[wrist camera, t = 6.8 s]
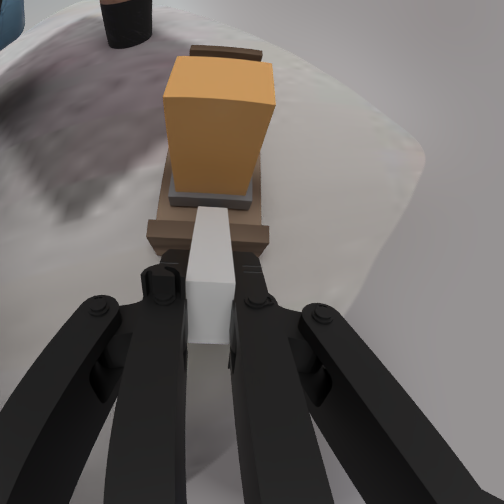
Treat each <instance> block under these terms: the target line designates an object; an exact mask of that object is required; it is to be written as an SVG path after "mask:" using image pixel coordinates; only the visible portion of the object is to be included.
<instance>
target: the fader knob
mask: <svg viewBox="0 0 504 504" xmlns="http://www.w3.org/2000/svg"><path fill="white" fill-rule="evenodd" d="M163 104H164V113H165V121H166V130H167V137H168V145H169V152H170V159H171V166H172V174H171V181H170V187H169V194H168V198H169V202H170V206H191V207H198V206H201V207H219V208H227V209H243V210H249V209H250V206H251V203H252V174H253V171H254V168H255V165H256V162H257V159H258V156H259V153H260V150H261V147H262V144H263V141H264V138H265V135H266V132H267V129H268V126H269V123H270V120H271V117H272V114H273V111H274V109H275V106H276V103H275V91H274V80H273V69H272V64H271V63H265V62H258V61H250V60H242V59H232V58H219V57H199V56H177V59H176V62H175V64H174V67H173V69H172V72H171V75H170V78H169V80H168V83H167V86H166V89H165V92H164V95H163Z"/></svg>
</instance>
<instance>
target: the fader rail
mask: <svg viewBox="0 0 504 504" xmlns="http://www.w3.org/2000/svg"><path fill="white" fill-rule="evenodd" d="M190 56H199V57H219V58H232V59H242V60H250V61H258V62H261V59H262V51H260V50H253V49H245V48H235V47H224V46H207V45H191V48H190ZM171 174H172V166H171V159H170V152H169V148H168V153H167V158H166V163H165V168H164V174H163V179H162V185H161V191H160V197H159V204H158V211H157V218H156V220H148V227H147V235H146V237H147V239H148V241H149V242H150V244H151V246H152V247H153V249H154V251H155V252H156V254H157V255H159V256H162V255H163V254H164V253H165V252H166V251H167V250H169V249H182V250H190V249H191V243H192V237H193V232H194V226H195V221H196V215H197V210H198V207H191V206H170V202H169V198H168V194H169V187H170V181H171ZM228 219H229V228H230V238H231V247H232V251H238V252H253V253H254V254H255V255H256V256H257V257H259V256H260V255H261V253H262V252H263V251H264V249H265V248H266V247H267V245H268V244H269V226H264V225H261V172H260V153H259V156H258V159H257V162H256V165H255V168H254V171H253V174H252V203H251V206H250V209H249V210H243V209H228Z"/></svg>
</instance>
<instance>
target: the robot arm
mask: <svg viewBox="0 0 504 504" xmlns="http://www.w3.org/2000/svg"><path fill="white" fill-rule="evenodd" d="M24 16H25V15H24V0H0V51H1V50H2V49H4V48H5V47H6V46H8V45H9V44H10V43H12V42H13V41H15V40H16V39H17V38H18V37H19V36H20V35H21V33H22V32H23V29H24V26H25V17H24ZM141 282H142V290H143V300H142V301H140V302H137V303H134V304H129V305H122V306H119V304H118V302H117V301H116V299H115V298H113V297H111V296H107V295H98V296H93V297H91V298H88V299H87V300H86V301H84V302H83V303H82V304H81V305H80V306H79V308H78V309H77V310H76V311H75V312H74V313H73V315H72V316H71V317H70V318H69V319H68V320H67V322H66V323H65V324H64V325H63V326H62V328H61V329H60V330H59V331H58V332H57V334H56V335H55V336H54V337H53V339H52V340H51V341H50V342H49V344H48V345H47V346H46V347H45V349H44V350H43V351H42V353H41V354H40V355H39V357H38V358H37V359H36V360H35V362H34V363H33V365H32V366H31V367H30V369H29V370H28V371H27V373H26V374H25V376H24V377H23V378H22V380H21V381H20V383H19V384H18V386H17V387H16V388H15V390H14V391H13V393H12V394H11V396H10V397H9V399H8V401H7V402H6V404H5V405H4V407H3V408H2V410H1V412H0V504H69V502H70V499H71V497H72V494H73V492H74V489H75V487H76V485H77V482H78V480H79V477H80V475H81V473H82V470H83V468H84V466H85V464H86V461H87V459H88V457H89V455H90V452H91V450H92V448H93V446H94V444H95V441H96V439H97V437H98V435H99V433H100V431H101V429H102V427H103V425H104V422H105V420H106V418H107V416H108V414H109V412H110V410H111V408H112V406H113V404H114V402H115V400H116V398H117V402H116V408H115V413H114V419H113V424H112V430H111V437H110V444H109V451H108V459H107V467H106V477H105V488H104V503H103V504H187V500H186V471H185V410H186V379H187V358H188V351H187V341H188V343H202V344H229V341H230V354H229V364H228V369H230V370H231V382H232V394H233V405H234V415H235V425H236V435H237V445H238V453H239V463H240V470H241V479H242V487H243V495H244V503H245V504H334V500H333V497H332V493H331V489H330V486H329V482H328V478H327V475H326V471H325V467H324V464H323V460H322V457H321V453H320V449H319V446H318V442H317V439H316V435H315V431H314V428H313V424H312V421H311V417H310V414H311V416H312V418H313V419H314V421H315V423H316V424H317V426H318V428H319V429H320V431H321V433H322V434H323V436H324V437H325V439H326V441H327V442H328V444H329V446H330V447H331V449H332V451H333V452H334V454H335V456H336V457H337V459H338V460H339V462H340V464H341V465H342V467H343V468H344V470H345V472H346V473H347V475H348V476H349V478H350V479H351V481H352V482H353V484H354V486H355V487H356V489H357V490H358V492H359V493H360V495H361V496H362V498H363V500H364V501H365V503H366V504H504V501H503V500H501V499H499V498H497V497H495V496H493V495H491V494H489V493H488V492H485V491H484V490H481V488H480V487H479V485H478V484H477V483H476V481H475V480H474V479H473V477H472V476H471V475H470V473H469V472H468V470H467V469H466V468H465V466H464V465H463V464H462V462H461V461H460V460H459V458H458V457H457V456H456V454H455V453H454V452H453V451H452V449H451V448H450V447H449V445H448V444H447V443H446V441H445V440H444V439H443V438H442V436H441V435H440V434H439V432H438V431H437V430H436V429H435V427H434V426H433V425H432V424H431V422H430V421H429V420H428V419H427V417H426V416H425V415H424V414H423V412H422V411H421V410H420V409H419V407H418V406H417V405H416V404H415V402H414V401H413V400H412V399H411V397H410V396H409V395H408V394H407V393H406V391H405V390H404V389H403V388H402V386H401V385H400V384H399V383H398V382H397V380H396V379H395V378H394V377H393V376H392V375H391V373H390V372H389V371H388V370H387V368H386V367H385V366H384V365H383V364H382V362H381V361H380V360H379V359H378V358H377V357H376V355H375V354H374V353H373V352H372V350H371V349H369V347H368V346H367V345H366V343H365V342H364V341H363V340H362V339H361V338H360V336H359V335H358V334H357V333H356V332H355V331H354V329H353V328H352V327H351V326H350V325H349V324H348V323H347V321H346V320H345V319H344V318H343V317H342V316H341V314H340V313H339V312H338V311H337V310H335V309H334V308H333V307H331V306H328V305H326V304H321V303H311V304H309V305H306V306H305V307H304V308H303V310H302V312H297V311H293V310H289V309H285V308H283V307H281V306H279V305H278V303H277V301H276V299H275V298H274V297H273V296H272V295H271V294H269V293H268V290H267V286H266V283H265V279H264V275H263V273H262V268H261V264H260V261H259V258H258V257H257V256H256V255H255V254H254V253H253V252H238V251H232V247H231V238H230V228H229V219H228V209H227V208H219V207H201V206H198V210H197V215H196V221H195V226H194V232H193V237H192V243H191V249H190V250H182V249H169V250H167V251H166V252H165V253H164V254H163V255H162V258H161V261H160V264H157V265H153V266H150V267H148V268H147V269H145V270H144V271H143V272H142V273H141ZM117 396H118V397H117ZM309 412H310V414H309Z"/></svg>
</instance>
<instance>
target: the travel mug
mask: <svg viewBox="0 0 504 504" xmlns="http://www.w3.org/2000/svg"><path fill="white" fill-rule="evenodd" d="M100 6H101V11H102V16H103V21H104V26H105V31H106V35H107V39H108V43H109V46H110V47H112V48H117V49H119V48H127V47H132V46H135V45H138V44H140V43H142V42H144V41H146V40H147V39H149V38H150V37H151V35H152V0H100Z"/></svg>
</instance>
